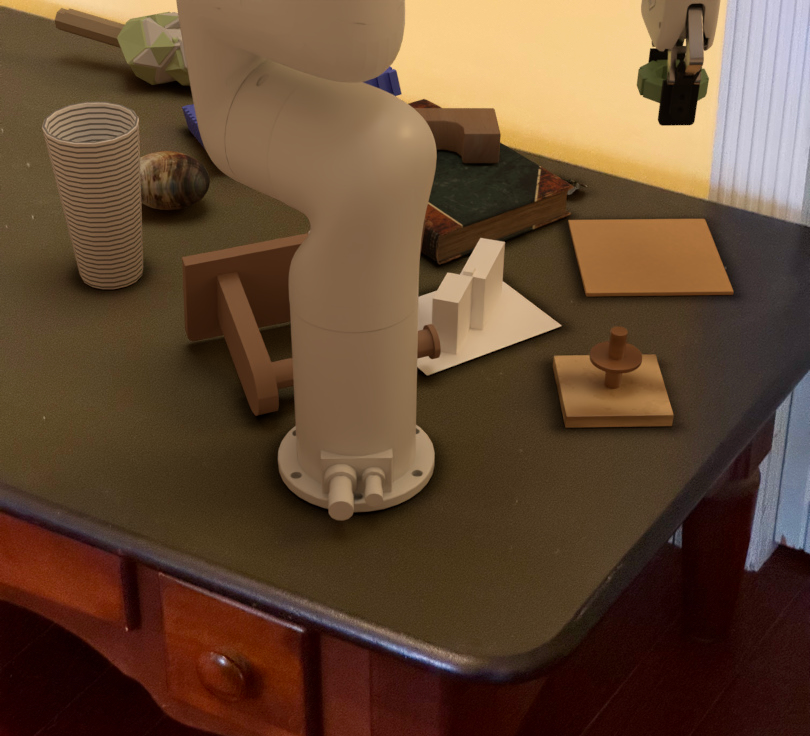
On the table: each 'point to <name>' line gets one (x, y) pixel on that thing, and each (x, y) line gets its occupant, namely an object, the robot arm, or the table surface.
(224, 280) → the toilet paper hanger
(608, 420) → the ring peg
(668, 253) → the cork mat
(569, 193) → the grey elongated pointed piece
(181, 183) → the seashell
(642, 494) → the table surface
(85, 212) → the cup
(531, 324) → the napkin holder
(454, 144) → the wooden block
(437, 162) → the book
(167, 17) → the decorative object
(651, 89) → the ring
